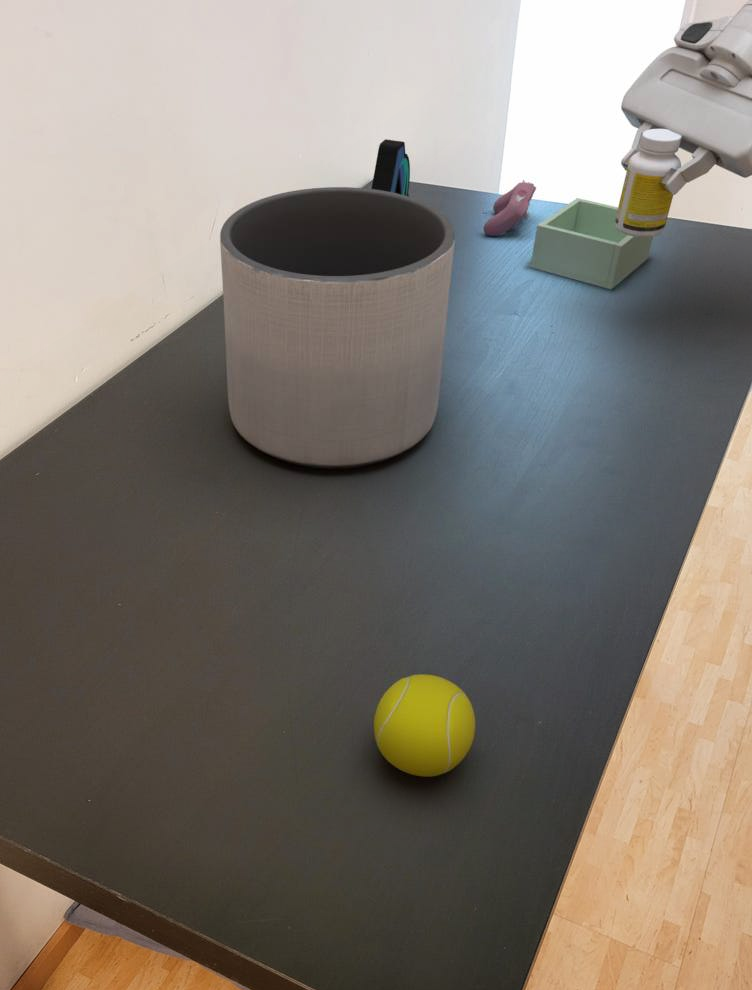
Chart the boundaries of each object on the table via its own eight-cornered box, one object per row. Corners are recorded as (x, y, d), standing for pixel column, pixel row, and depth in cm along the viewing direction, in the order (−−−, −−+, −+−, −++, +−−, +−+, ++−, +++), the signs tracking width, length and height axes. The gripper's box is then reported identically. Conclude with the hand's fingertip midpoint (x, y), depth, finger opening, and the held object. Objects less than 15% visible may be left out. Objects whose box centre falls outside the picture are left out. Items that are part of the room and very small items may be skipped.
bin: (647, 258, 127) (658, 216, 123) (611, 289, 121) (621, 246, 117) (568, 238, 132) (577, 197, 128) (529, 267, 126) (537, 225, 122)
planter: (254, 359, 110) (247, 179, 96) (443, 374, 106) (464, 190, 92) (207, 466, 95) (190, 271, 81) (426, 488, 91) (448, 289, 77)
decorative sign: (368, 289, 122) (375, 167, 112) (351, 286, 123) (355, 165, 113) (416, 235, 134) (426, 120, 124) (400, 232, 135) (408, 118, 125)
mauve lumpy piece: (506, 250, 134) (536, 207, 128) (479, 232, 133) (508, 188, 128) (516, 224, 140) (545, 182, 135) (491, 207, 140) (519, 164, 134)
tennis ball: (358, 776, 67) (362, 713, 62) (389, 708, 72) (396, 643, 67) (453, 808, 65) (465, 745, 60) (479, 735, 69) (492, 671, 64)
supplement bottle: (673, 234, 104) (699, 139, 97) (630, 241, 103) (653, 145, 96) (646, 216, 108) (669, 123, 101) (604, 223, 107) (624, 129, 100)
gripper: (833, 112, 92) (721, 231, 96) (695, 62, 105) (603, 168, 110) (815, 67, 88) (698, 193, 92) (673, 20, 101) (578, 132, 106)
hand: (645, 179), depth 101 cm, fingers closed on supplement bottle, 5 cm apart
